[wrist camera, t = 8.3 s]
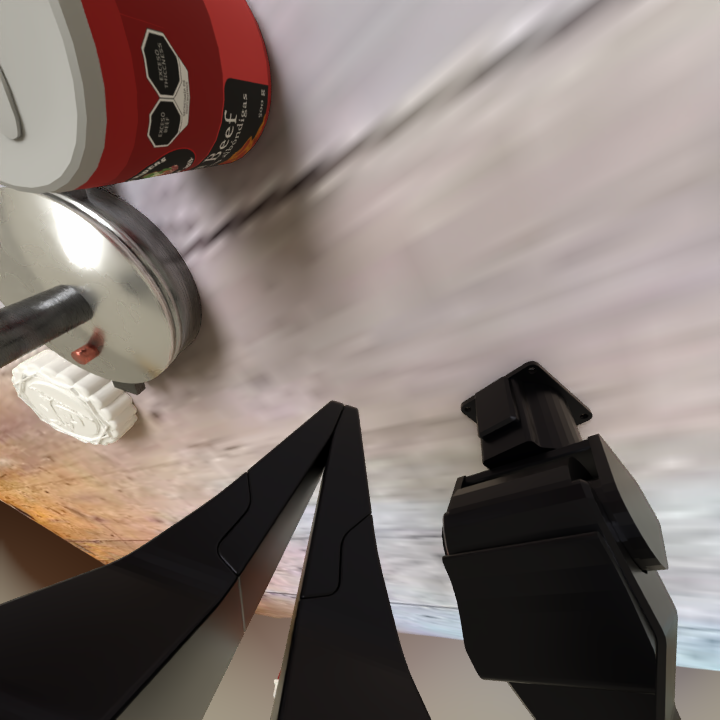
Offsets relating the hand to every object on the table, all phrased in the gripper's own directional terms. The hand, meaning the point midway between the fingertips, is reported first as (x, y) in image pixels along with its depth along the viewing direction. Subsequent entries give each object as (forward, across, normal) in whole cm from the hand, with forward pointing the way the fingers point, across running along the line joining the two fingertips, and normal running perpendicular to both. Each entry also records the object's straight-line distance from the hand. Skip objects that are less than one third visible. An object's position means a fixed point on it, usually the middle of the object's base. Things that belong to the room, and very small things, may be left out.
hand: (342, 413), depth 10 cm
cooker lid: (+10, +21, +8) cm, 25 cm away
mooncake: (+14, +30, +24) cm, 41 cm away
